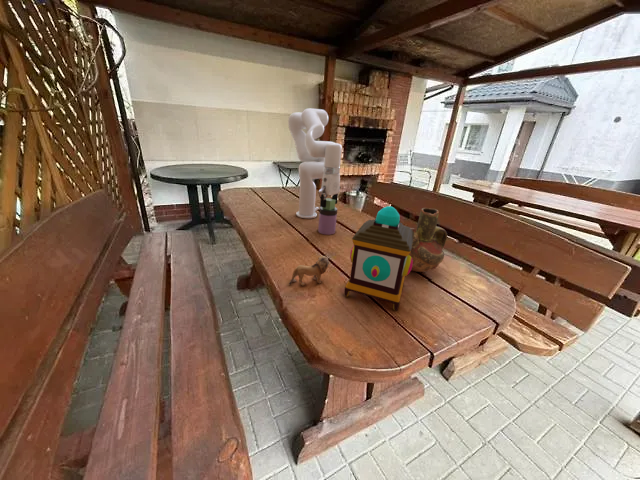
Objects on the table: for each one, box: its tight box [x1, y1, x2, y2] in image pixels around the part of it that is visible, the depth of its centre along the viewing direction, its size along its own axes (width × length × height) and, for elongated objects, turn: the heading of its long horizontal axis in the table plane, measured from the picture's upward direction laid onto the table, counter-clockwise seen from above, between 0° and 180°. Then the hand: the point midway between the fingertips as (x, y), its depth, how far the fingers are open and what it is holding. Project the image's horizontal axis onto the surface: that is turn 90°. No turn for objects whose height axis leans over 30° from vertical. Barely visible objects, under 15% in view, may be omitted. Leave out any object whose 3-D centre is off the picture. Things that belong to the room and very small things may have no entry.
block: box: [323, 197, 336, 210], centre depth 131 cm, size 4×4×4 cm
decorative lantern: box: [343, 205, 414, 312], centre depth 84 cm, size 20×20×30 cm
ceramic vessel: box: [409, 207, 448, 273], centre depth 101 cm, size 17×26×25 cm, turn 117°
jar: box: [317, 213, 338, 236], centre depth 135 cm, size 9×9×12 cm
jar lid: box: [318, 206, 338, 216], centre depth 133 cm, size 9×9×2 cm
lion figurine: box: [288, 255, 330, 287], centre depth 90 cm, size 15×5×9 cm, turn 117°
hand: (328, 205), depth 132 cm, fingers open, 9 cm apart
